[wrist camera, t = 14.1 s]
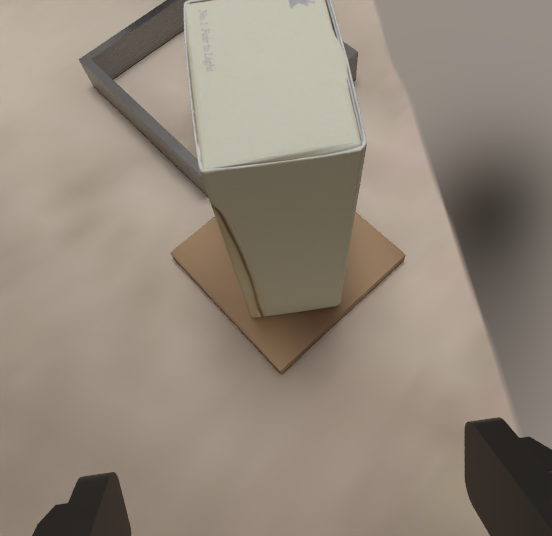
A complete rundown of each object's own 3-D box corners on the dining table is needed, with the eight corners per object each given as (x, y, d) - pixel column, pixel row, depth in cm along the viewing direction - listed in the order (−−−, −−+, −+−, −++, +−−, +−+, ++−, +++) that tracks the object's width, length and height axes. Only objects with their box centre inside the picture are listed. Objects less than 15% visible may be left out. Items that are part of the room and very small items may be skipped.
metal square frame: (208, 197, 27) (200, 175, 26) (92, 85, 31) (78, 59, 29) (355, 79, 30) (357, 51, 28) (231, -12, 34) (226, -41, 32)
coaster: (281, 374, 23) (280, 370, 23) (173, 257, 26) (170, 252, 26) (403, 260, 25) (405, 254, 25) (290, 162, 28) (289, 155, 27)
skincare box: (236, 206, 26) (175, -6, 15) (324, 192, 26) (326, -31, 15) (251, 325, 24) (189, 173, 13) (347, 310, 24) (371, 144, 13)
